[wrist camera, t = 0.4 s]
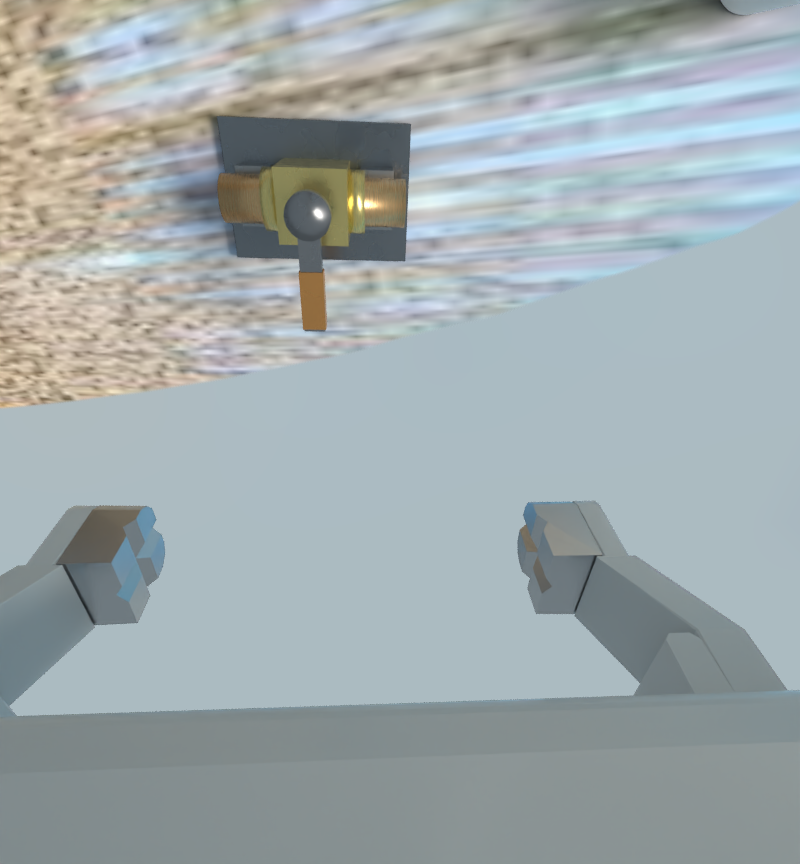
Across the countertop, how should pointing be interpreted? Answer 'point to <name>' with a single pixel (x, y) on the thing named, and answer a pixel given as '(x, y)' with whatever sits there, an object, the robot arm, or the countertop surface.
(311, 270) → the lever
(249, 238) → the valve
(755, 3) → the grey bottle
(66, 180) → the countertop surface
